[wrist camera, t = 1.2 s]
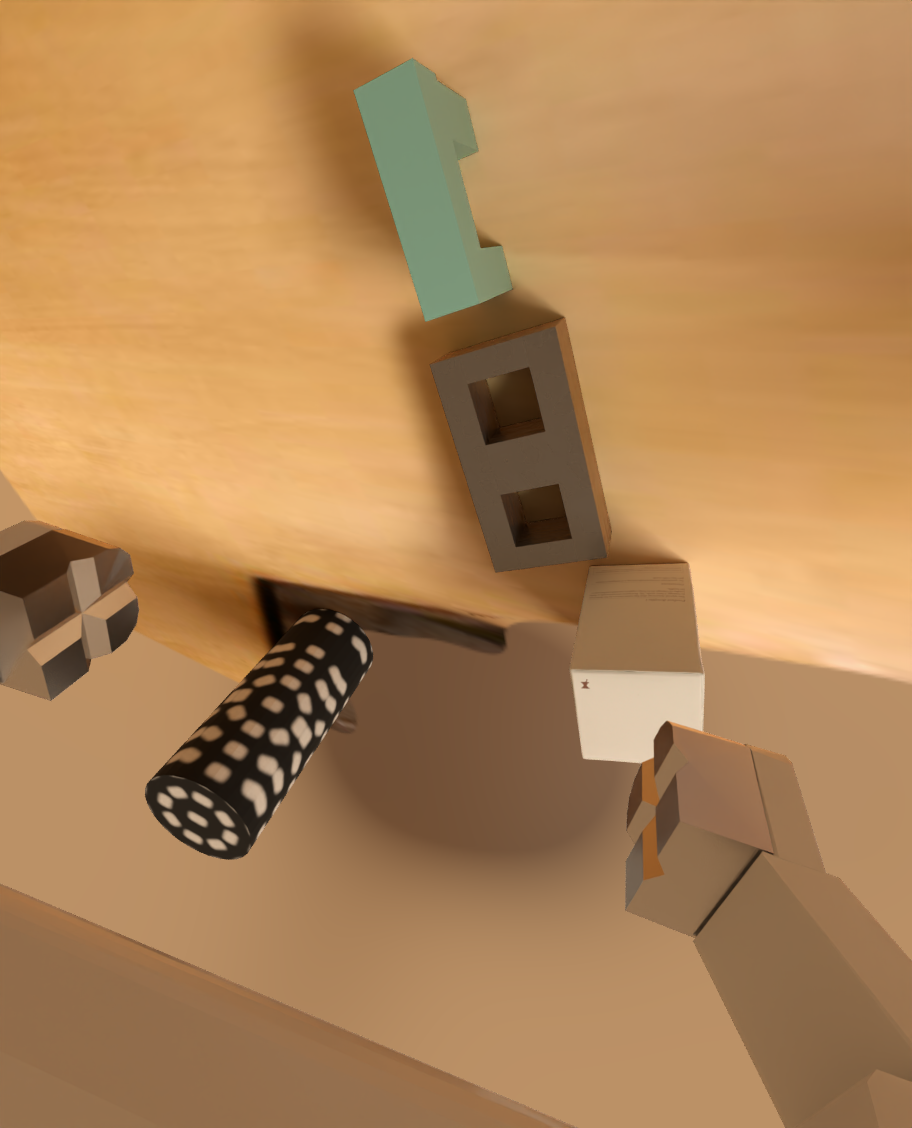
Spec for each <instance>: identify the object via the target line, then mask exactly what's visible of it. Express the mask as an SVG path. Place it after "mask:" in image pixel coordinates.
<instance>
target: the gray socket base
mask: <svg viewBox="0 0 912 1128" xmlns="http://www.w3.org/2000/svg"><path fill="white" fill-rule="evenodd" d="M430 367H431V370H432V374H433V377H434V380H435V383H436V386H437V389H438V392H439V396H440V399H441V402H442V405H443V408H444V411H445V414H446V418H447V421H448V424H449V427H450V430H451V433H452V437H453V440H454V443H455V446H456V449H457V452H458V455H459V459H460V462H461V465H462V468H463V471H464V474H465V477H466V481H467V484H468V487H469V490H470V493H471V496H472V500H473V503H474V506H475V509H476V512H477V515H478V518H479V522H480V525H481V528H482V531H483V534H484V537H485V540H486V544H487V547H488V550H489V553H490V556H491V559H492V563H493V566H494V569H495V572H503V571H511V570H518V569H525V568H533V567H540V566H547V565H555V564H562V563H570V562H577V561H584V560H592V559H599V558H606V557H608V551H609V545H610V539H611V532H612V531H611V526H610V522H609V517H608V512H607V508H606V503H605V499H604V494H603V489H602V485H601V480H600V476H599V471H598V466H597V462H596V457H595V453H594V448H593V443H592V439H591V434H590V430H589V425H588V421H587V416H586V411H585V407H584V402H583V398H582V393H581V388H580V384H579V379H578V375H577V370H576V365H575V361H574V356H573V352H572V347H571V342H570V338H569V333H568V329H567V324H566V320H565V318H561V319H558V320H555V321H552V322H548V323H545V324H542V325H539V326H535V327H532V328H529V329H525V330H522V331H519V332H516V333H512V334H509V335H506V336H503V337H499V338H496V339H493V340H490V341H486V342H483V343H480V344H477V345H473V346H470V347H467V348H464V349H460V350H457V351H454V352H451V353H448V354H446V355H445V356H443V357H441V358H440V359H438V360H436V361H435V362H433V363H431V364H430ZM527 367H529V368H530V372H531V376H532V380H533V384H534V388H535V392H536V396H537V400H538V404H539V408H540V412H541V416H542V418H538V419H534V420H530V421H526V422H521V423H517V424H513V425H509V426H505V427H501V428H500V427H499V424H498V420H497V417H496V413H495V409H494V406H493V402H492V399H491V395H490V392H489V388H488V385H487V381H486V379H488V378H491V377H495V376H499V375H502V374H506V373H509V372H513V371H517V370H520V369H524V368H527ZM555 484H559V488H560V492H561V496H562V500H563V504H564V508H565V512H566V517H560V518H554V519H548V520H542V521H536V522H530V523H526V519H525V516H524V512H523V509H522V505H521V502H520V498H519V495H518V491H523V490H529V489H534V488H539V487H544V486H549V485H555Z"/></svg>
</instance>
